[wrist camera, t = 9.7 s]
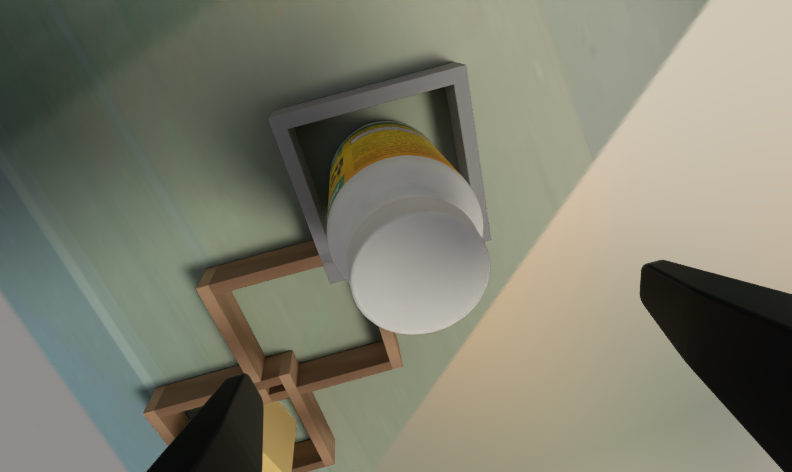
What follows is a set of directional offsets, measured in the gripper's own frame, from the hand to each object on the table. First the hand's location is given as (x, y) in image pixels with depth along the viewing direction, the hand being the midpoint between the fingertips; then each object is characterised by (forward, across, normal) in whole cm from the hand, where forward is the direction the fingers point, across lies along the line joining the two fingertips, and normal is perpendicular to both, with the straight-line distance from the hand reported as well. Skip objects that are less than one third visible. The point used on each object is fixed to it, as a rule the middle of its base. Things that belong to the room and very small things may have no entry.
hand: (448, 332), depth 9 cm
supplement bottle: (+12, 0, 0) cm, 12 cm away
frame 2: (+12, +6, +7) cm, 15 cm away
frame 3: (+12, +12, +13) cm, 22 cm away
